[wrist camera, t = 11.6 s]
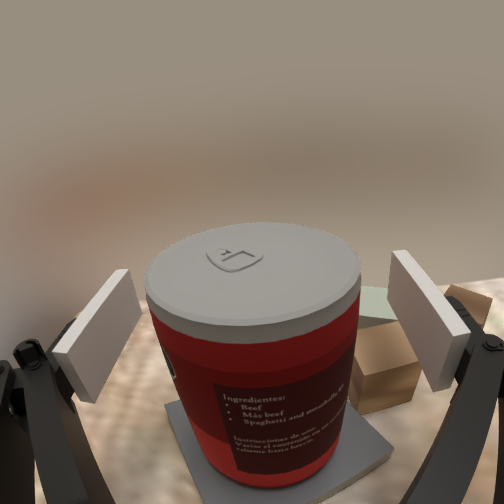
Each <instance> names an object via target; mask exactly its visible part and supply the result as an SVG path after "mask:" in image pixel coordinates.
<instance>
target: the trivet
mask: <svg viewBox="0 0 504 504" xmlns="http://www.w3.org/2000/svg"><path fill="white" fill-rule="evenodd" d="M164 406H165V408H166V411H167V414H168V417H169V420H170V422H171V425H172V428H173V430H174V433H175V436H176V438H177V441H178V443H179V446H180V448H181V451H182V453H183V456H184V458H185V461H186V463H187V466H188V468H189V470H190V473H191V475H192V477H193V479H194V482H195V484H196V486H197V488H198V491H199V493H200V495H201V497H202V499H203V501H204V503H205V504H318V503H320V502H321V501H323V500H325V499H327V498H329V497H330V496H332V495H334V494H335V493H337V492H339V491H340V490H342V489H344V488H345V487H347V486H349V485H350V484H352V483H353V482H355V481H357V480H358V479H360V478H361V477H363V476H364V475H366V474H367V473H369V472H370V471H372V470H373V469H375V468H376V467H377V466H379V465H380V464H382V463H383V462H384V461H386V460H387V459H389V458H390V456H391V454H392V452H393V450H394V447H393V446H392V445H391V444H390V443H389V442H388V441H387V440H386V439H385V438H384V437H382V436H381V435H380V434H379V433H378V432H377V431H376V430H375V429H374V428H373V427H372V426H371V425H370V424H369V423H368V422H367V421H366V420H365V419H364V418H363V417H362V416H361V415H360V414H359V413H358V412H357V411H356V410H355V409H354V408H353V407H352V406H351V405H350V404H349V403H348V402H346V407H345V413H344V418H343V423H342V428H341V433H340V437H339V442H338V445H337V447H336V449H335V451H334V453H333V455H332V456H331V457H330V459H329V460H328V461H327V462H326V464H325V465H324V466H323V467H321V468H320V469H319V470H318V471H316V472H315V473H314V474H313V475H311V476H310V477H308V478H306V479H304V480H302V481H300V482H298V483H295V484H292V485H288V486H285V487H277V488H261V487H253V486H250V485H246V484H242V483H240V482H238V481H236V480H234V479H232V478H230V477H228V476H226V475H225V474H223V473H222V472H221V471H219V470H218V469H217V468H215V467H214V466H213V465H212V464H211V463H210V461H209V460H208V459H207V458H206V456H205V455H204V453H203V451H202V449H201V447H200V445H199V442H198V440H197V438H196V436H195V433H194V431H193V429H192V426H191V424H190V422H189V419H188V417H187V415H186V412H185V410H184V407H183V405H182V402H181V400H177V401H174V402H171V403H168V404H165V405H164Z"/></svg>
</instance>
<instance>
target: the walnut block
mask: <svg viewBox="0 0 504 504" xmlns="http://www.w3.org/2000/svg"><path fill="white" fill-rule="evenodd" d="M445 296H453V297H454V298H456V299H457V300H459V301H460V302H461V303H462V304H463V305H464V307H465V308H466V310H468V312H469V313H470V314H471V316H472V317H473V318H474V319H475V321H476V322H477V323H478V325H479V326H480V327H481V328H482V330H483V328H484V325H485V322H486V319H487V316H488V313H489V309H490V306H491V303H492V298H489V297H486V296H484V295H481V294H478V293H475V292H472V291H469V290H466V289H463V288H460V287H457V286H455V285H452V284H451V285H450V287H449V288H448V290H447V291H446V293H445V294H444V297H445Z"/></svg>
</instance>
